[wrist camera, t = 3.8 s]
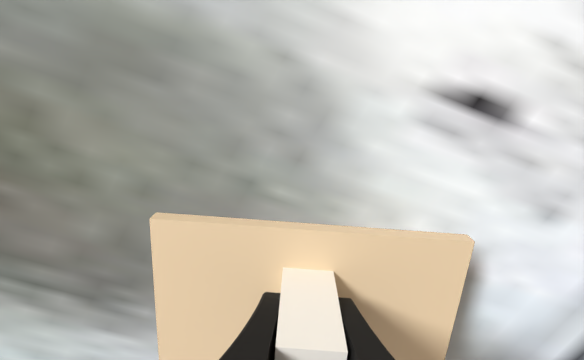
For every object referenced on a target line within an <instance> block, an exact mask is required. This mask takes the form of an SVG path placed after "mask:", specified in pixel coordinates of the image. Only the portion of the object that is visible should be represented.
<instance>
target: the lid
mask: <svg viewBox="0 0 584 360" xmlns="http://www.w3.org/2000/svg"><path fill="white" fill-rule="evenodd" d="M150 233H151V248H152V263H153V278H154V293H155V307H156V322H157V337H158V352H159V360H219V359H220V358H221V356H222V355H223V354H224V353H225V352H226V351H227V349H228V348H229V347H230V346H231V344H232V343H233V342H234V340H235V339H236V338H237V336H238V335H239V334H240V332H241V331H242V330H243V328H244V327H245V325H246V324H247V322H248V320H249V319H250V317H251V316H252V314H253V312H254V311H255V309H256V307H257V305H258V303H259V301H260V299H261V297H262V294H264V293H265V292H274V293H280V304H279V314H278V325H277V336H276V346H275V360H347V355H348V350H347V345H346V339H345V333H344V328H343V322H342V317H341V311H340V305H339V300H338V297H341V298H351V299H352V300H353V302H354V303H355V305H356V307H357V308H358V310H359V311H360V313H361V314H362V316H363V317H364V319H365V320H366V322H367V323H368V325H369V326H370V328H371V329H372V330H373V332H374V333H375V334H376V336H377V337H378V338H379V340H380V341H381V343H382V344H383V345H384V346H385V348H386V349H387V350H388V351H389V353H390V354H391V355H392V356H393V357H394V359H395V360H445V356H446V353H447V349H448V345H449V341H450V337H451V333H452V329H453V325H454V321H455V317H456V314H457V310H458V306H459V302H460V298H461V294H462V290H463V286H464V282H465V278H466V274H467V271H468V267H469V263H470V259H471V255H472V251H473V247H474V243H475V241H473V240H472V239H471V238H470V237H469V236H468V235H465V234H451V233H437V232H423V231H408V230H394V229H380V228H366V227H352V226H338V225H324V224H310V223H296V222H282V221H268V220H254V219H240V218H226V217H212V216H198V215H184V214H170V213H155V214H154V215H153V216H152V217H151V218H150Z"/></svg>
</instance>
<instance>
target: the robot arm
mask: <svg viewBox="0 0 584 360" xmlns="http://www.w3.org/2000/svg"><path fill="white" fill-rule="evenodd" d="M338 300H339V305H340V311H341V317H342V322H343V328H344V333H345V339H346V345H347V350H348V355H347V360H395V359H394V357H393V356H392V355H391V354H390V353H389V351H388V350H387V349H386V348H385V346H384V345H383V344H382V343H381V341H380V340H379V338H378V337H377V336H376V334H375V333H374V332H373V330H372V329H371V328H370V326H369V325H368V323H367V322H366V320H365V319H364V317H363V316H362V314H361V313H360V311H359V310H358V308H357V307H356V305H355V303H354V302H353V300H352V299H351V298H341V297H338ZM279 304H280V293H274V292H265V293H264V294H262V297H261V299H260V301H259V303H258V305H257V307H256V309H255V311H254V312H253V314H252V316H251V317H250V319H249V320H248V322H247V324H246V325H245V327H244V328H243V330H242V331H241V332H240V334H239V335H238V336H237V338H236V339H235V340H234V342H233V343H232V344H231V346H230V347H229V348H228V349H227V351H226V352H225V353H224V354H223V355H222V356H221V358H220V359H219V360H275V346H276V336H277V325H278V314H279Z"/></svg>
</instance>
